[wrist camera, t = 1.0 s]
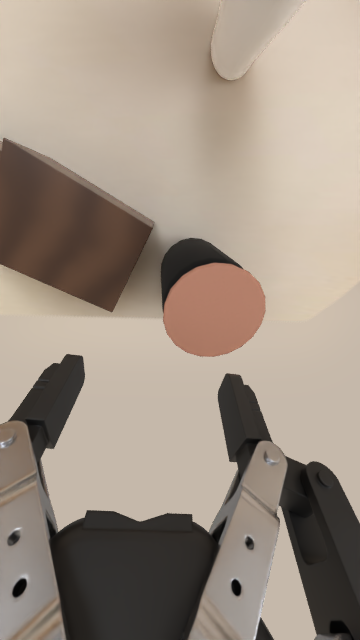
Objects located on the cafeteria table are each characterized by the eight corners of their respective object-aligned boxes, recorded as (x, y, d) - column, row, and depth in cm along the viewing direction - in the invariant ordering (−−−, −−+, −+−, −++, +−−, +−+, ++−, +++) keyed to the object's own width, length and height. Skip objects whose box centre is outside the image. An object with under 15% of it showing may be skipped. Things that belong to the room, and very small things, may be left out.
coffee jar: (155, 290, 38) (153, 350, 23) (168, 229, 33) (177, 251, 18) (209, 301, 40) (242, 363, 25) (229, 245, 35) (285, 277, 20)
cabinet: (28, 243, 33) (-17, 256, 24) (49, 157, 28) (3, 137, 19) (122, 288, 37) (112, 312, 29) (154, 222, 33) (152, 227, 24)
